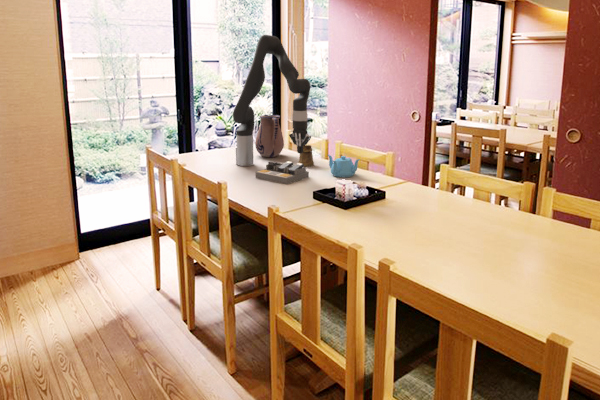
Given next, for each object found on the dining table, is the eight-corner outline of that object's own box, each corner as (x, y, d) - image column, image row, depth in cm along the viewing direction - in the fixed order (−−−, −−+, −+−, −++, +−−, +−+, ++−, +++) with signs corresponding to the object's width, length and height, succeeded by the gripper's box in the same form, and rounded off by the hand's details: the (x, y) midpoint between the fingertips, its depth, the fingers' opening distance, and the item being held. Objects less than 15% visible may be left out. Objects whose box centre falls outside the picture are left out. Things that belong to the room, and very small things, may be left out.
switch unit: (255, 177, 267) (255, 167, 266) (278, 171, 281) (277, 161, 279) (286, 184, 255) (286, 173, 253) (308, 177, 269) (308, 166, 267)
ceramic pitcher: (274, 152, 331) (274, 113, 324) (292, 157, 314) (292, 116, 307) (250, 155, 322) (249, 114, 315) (267, 161, 305) (266, 119, 298)
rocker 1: (267, 164, 271) (268, 161, 271) (277, 166, 277) (278, 162, 277) (273, 165, 269) (273, 162, 268) (282, 166, 275) (283, 163, 275)
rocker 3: (289, 172, 263) (288, 169, 263) (298, 165, 269) (297, 162, 268) (294, 173, 261) (294, 170, 260) (303, 166, 266) (303, 163, 266)
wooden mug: (305, 161, 306) (305, 131, 301) (316, 165, 294) (317, 134, 289) (292, 162, 302) (292, 132, 297) (302, 167, 290) (303, 135, 285)
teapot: (353, 171, 281) (353, 153, 278) (360, 178, 267) (361, 158, 264) (326, 172, 279) (327, 154, 276) (332, 179, 265) (333, 159, 262)
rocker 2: (278, 170, 267) (278, 167, 267) (288, 163, 273) (287, 160, 272) (283, 171, 265) (283, 168, 265) (293, 164, 271) (292, 161, 270)
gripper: (285, 119, 261) (285, 152, 266) (305, 121, 253) (305, 155, 258) (294, 117, 266) (294, 150, 271) (314, 119, 259) (314, 153, 264)
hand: (300, 153), depth 265 cm, fingers closed
